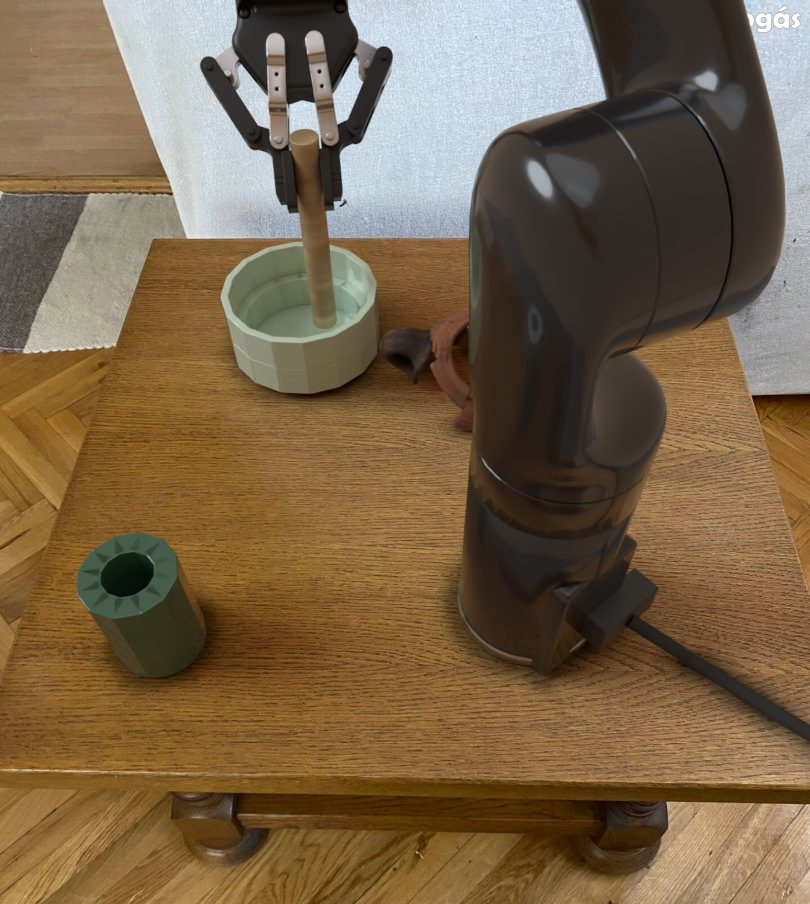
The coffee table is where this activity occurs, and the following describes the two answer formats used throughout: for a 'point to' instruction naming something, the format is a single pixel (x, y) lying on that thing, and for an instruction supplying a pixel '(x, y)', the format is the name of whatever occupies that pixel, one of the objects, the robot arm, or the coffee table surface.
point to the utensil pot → (142, 604)
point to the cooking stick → (314, 226)
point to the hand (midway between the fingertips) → (311, 208)
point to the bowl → (300, 320)
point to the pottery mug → (415, 351)
